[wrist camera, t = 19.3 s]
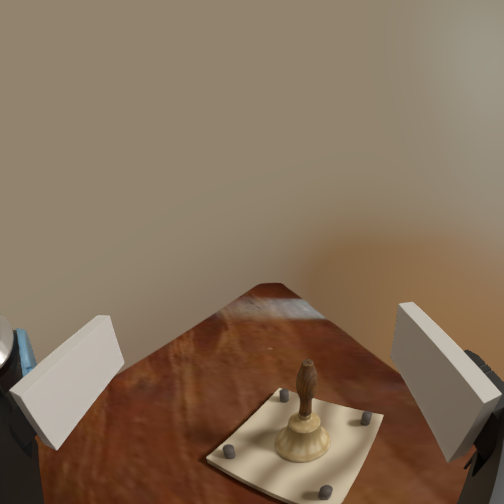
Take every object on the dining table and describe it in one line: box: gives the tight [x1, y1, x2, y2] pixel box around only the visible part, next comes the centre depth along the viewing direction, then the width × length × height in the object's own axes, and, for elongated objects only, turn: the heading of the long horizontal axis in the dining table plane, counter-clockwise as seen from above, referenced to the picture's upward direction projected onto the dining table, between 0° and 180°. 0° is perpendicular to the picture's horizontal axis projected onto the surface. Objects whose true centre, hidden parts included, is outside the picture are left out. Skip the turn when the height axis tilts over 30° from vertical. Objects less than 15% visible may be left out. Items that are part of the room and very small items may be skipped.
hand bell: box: [275, 359, 331, 463], centre depth 31 cm, size 8×8×16 cm
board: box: [206, 388, 383, 504], centre depth 33 cm, size 20×20×4 cm
